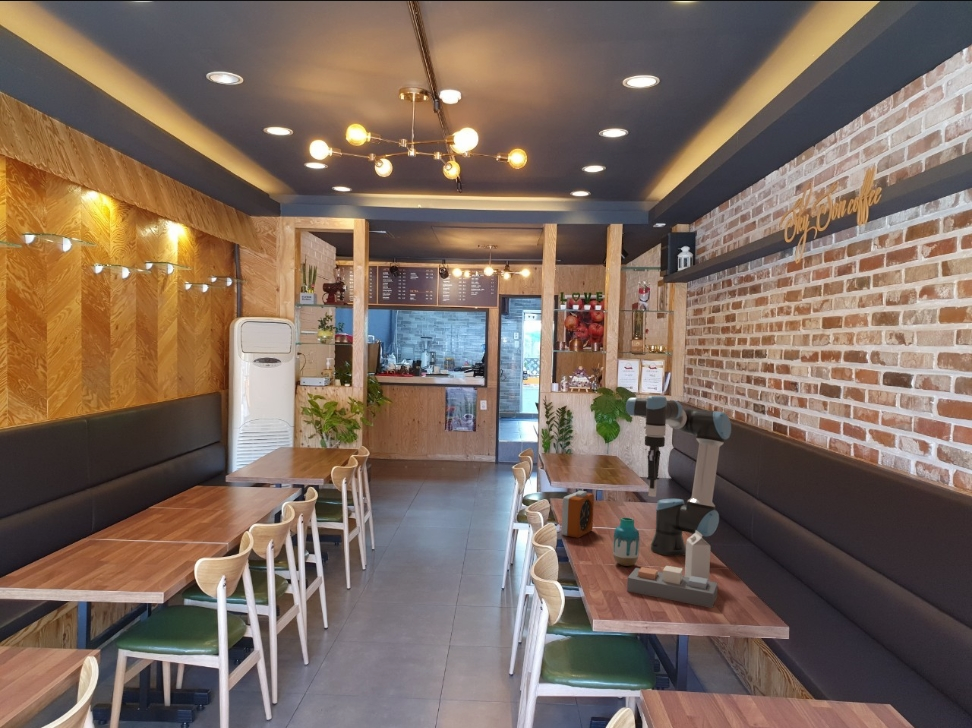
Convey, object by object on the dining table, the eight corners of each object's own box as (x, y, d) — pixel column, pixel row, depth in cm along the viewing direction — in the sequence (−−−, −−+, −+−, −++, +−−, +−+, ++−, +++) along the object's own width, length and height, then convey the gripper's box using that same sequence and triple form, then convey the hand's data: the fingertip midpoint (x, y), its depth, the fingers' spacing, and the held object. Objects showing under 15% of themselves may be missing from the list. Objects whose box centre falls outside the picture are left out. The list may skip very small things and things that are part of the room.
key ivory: (665, 581, 245) (666, 565, 245) (682, 584, 242) (682, 568, 242) (662, 585, 239) (663, 570, 239) (679, 589, 237) (680, 573, 237)
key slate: (690, 591, 241) (690, 575, 241) (707, 594, 238) (708, 578, 238) (687, 596, 235) (688, 580, 235) (705, 600, 233) (705, 583, 233)
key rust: (641, 582, 249) (641, 566, 249) (657, 585, 246) (657, 569, 246) (637, 586, 243) (638, 571, 243) (653, 590, 241) (654, 574, 241)
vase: (610, 566, 269) (612, 520, 268) (614, 559, 279) (616, 514, 278) (636, 570, 265) (638, 523, 265) (639, 563, 275) (641, 517, 275)
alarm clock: (577, 539, 307) (579, 495, 307) (560, 535, 312) (562, 492, 311) (593, 530, 323) (594, 489, 322) (576, 527, 328) (578, 486, 327)
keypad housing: (635, 580, 253) (635, 567, 253) (716, 596, 240) (717, 582, 240) (627, 591, 241) (627, 577, 241) (712, 608, 228) (713, 593, 228)
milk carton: (702, 578, 259) (704, 530, 259) (708, 584, 252) (711, 535, 252) (684, 577, 259) (686, 529, 259) (690, 583, 252) (693, 534, 252)
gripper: (648, 433, 262) (646, 492, 263) (641, 436, 250) (638, 498, 251) (667, 435, 259) (665, 494, 259) (661, 438, 247) (658, 500, 248)
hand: (652, 496), depth 255 cm, fingers closed
